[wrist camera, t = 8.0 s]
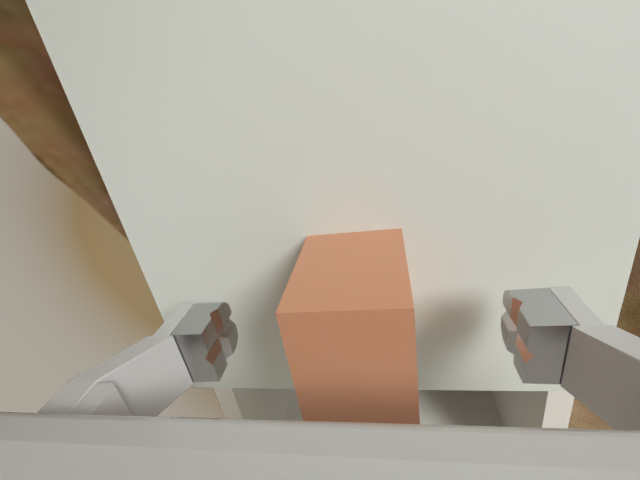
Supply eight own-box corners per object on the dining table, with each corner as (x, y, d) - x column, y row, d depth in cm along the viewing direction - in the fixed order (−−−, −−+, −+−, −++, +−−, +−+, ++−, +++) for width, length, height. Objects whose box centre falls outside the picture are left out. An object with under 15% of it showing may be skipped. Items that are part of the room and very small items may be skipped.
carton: (218, 82, 20) (95, 94, 11) (515, 29, 17) (665, -13, 8) (290, 364, 30) (253, 490, 21) (491, 362, 26) (549, 511, 18)
